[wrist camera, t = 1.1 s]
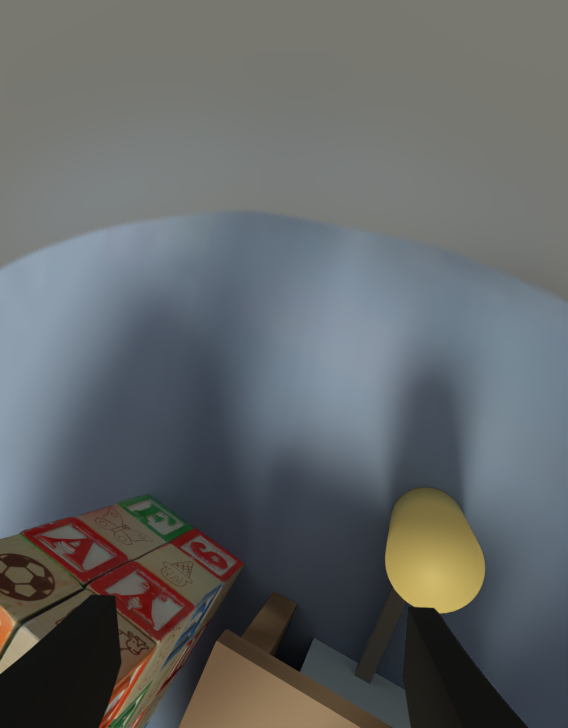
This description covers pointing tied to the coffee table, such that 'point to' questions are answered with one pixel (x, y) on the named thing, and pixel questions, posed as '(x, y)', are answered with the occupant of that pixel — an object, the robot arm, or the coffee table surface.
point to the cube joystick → (406, 597)
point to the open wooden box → (265, 684)
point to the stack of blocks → (117, 592)
